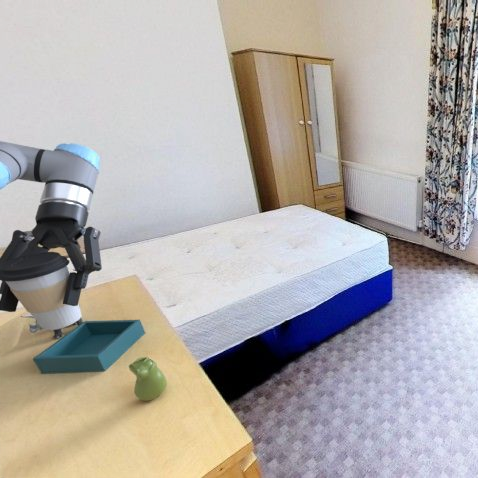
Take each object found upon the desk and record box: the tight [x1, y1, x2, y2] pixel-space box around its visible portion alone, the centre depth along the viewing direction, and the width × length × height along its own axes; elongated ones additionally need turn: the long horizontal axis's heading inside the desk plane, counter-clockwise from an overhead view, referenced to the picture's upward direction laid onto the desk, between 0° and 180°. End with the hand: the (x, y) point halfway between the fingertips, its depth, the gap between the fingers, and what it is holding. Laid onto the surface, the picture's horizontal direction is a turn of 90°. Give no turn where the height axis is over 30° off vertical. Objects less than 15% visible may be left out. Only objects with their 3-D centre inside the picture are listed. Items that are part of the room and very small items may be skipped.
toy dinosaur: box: [20, 314, 84, 340], centre depth 87 cm, size 22×8×11 cm, turn 42°
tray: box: [32, 319, 146, 375], centre depth 80 cm, size 14×14×5 cm
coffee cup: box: [0, 251, 83, 331], centre depth 66 cm, size 9×9×15 cm
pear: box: [128, 356, 168, 402], centre depth 68 cm, size 6×5×10 cm
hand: (39, 307), depth 64 cm, fingers closed on coffee cup, 9 cm apart
